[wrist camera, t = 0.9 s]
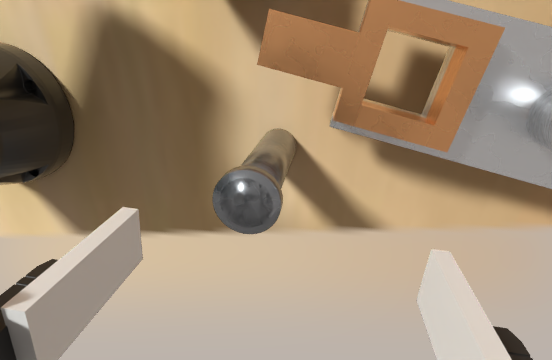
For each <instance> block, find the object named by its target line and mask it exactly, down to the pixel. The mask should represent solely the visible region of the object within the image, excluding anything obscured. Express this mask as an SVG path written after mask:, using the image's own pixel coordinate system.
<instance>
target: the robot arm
mask: <svg viewBox="0 0 552 360" xmlns="http://www.w3.org/2000/svg"><path fill="white" fill-rule="evenodd" d="M73 138H74V124H73V117H72V113H71V109H70V106H69V104H68V101H67V99H66V96H65V94H64V92H63V91H62V89H61V87H60V85H59V84H58V82H57V81H56V80H55V78H54V77H53V76H52V74H51V73H50V72H49V71H48V70H47V69H46V68H45V67H44V66H43V65H42V64H41V63H40V62H39V61H38V60H36V59H35V58H34V57H33V56H31V55H30V54H28V53H26V52H25V51H23V50H21V49H19V48H17V47H14V46H12V45H9V44H5V43H0V185H3V184H16V183H25V182H30V181H34V180H36V179H39V178H41V177H43V176H46V175H48V174H50V173H52V172H54V171H55V170H57V169H58V168H59V167H60V166H61V165H62V164H63V163H64V162H65V161H66V159H67V158H68V156H69V154H70V151H71V148H72V144H73ZM142 258H143V257H142V245H141V233H140V221H139V209H135V208H127V207H122V208H121V209H120V210H118V211H117V212H116V213H115V214H114V215H112V216H111V217H110V218H109V219H108V220H106V221H105V222H104V223H103V224H102V225H100V226H99V227H98V228H97V229H95V230H94V231H93V232H92V233H91V234H89V235H88V236H87V237H86V238H85V239H83V240H82V241H81V242H80V243H78V244H77V245H76V246H75V247H74V248H72V249H71V250H70V251H69V252H68V253H67V254H65V255H64V256H63V257H61V258H60V259H59V260H55V259H52V260H49V261H47V262H45V263H43V264H41V265H39V266H37V267H36V268H35V269H33V270H32V271H31V272H29V273H28V274H27V275H26V277H23V278H22V279H21V280H19V281H18V282H17V283H16V285H13V286H12V287H10V288H9V289H8V290H7V291H5V292H4V293H3V294H1V295H0V360H58V359H59V358H60V357H61V356H62V354H63V353H64V352H65V351H66V350H67V349H68V347H69V346H70V345H71V344H72V343H73V341H74V340H75V339H76V338H77V337H78V335H79V334H80V333H81V332H82V331H83V329H84V328H85V327H86V326H87V325H88V323H89V322H90V321H91V320H92V319H93V318H94V316H95V315H96V314H97V313H98V312H99V310H100V309H101V308H102V307H103V306H104V304H105V303H106V302H107V301H108V300H109V298H110V297H111V296H112V295H113V294H114V292H115V291H116V290H117V289H118V288H119V286H120V285H121V284H122V283H123V282H124V281H125V279H126V278H127V277H128V276H129V275H130V273H131V272H132V271H133V270H134V269H135V267H136V266H137V265H138V264H139V263H140V261H141V260H142ZM417 303H418V306H419V309H420V312H421V315H422V318H423V321H424V323H425V326H426V329H427V332H428V335H429V338H430V341H431V344H432V347H433V350H434V353H435V356H436V359H437V360H533V359H532V358H530V354H529V353H528V351H527V350H526V348H525V347H524V345H523V343H522V342H521V341H520V340H519V339H518V338H517V337H516V336H515V335H514V334H513V333H512V332H511V331H509V330H508V329H507V328H500V327H494V326H492V324H491V323H490V321H489V319H488V317H487V316H486V314H485V312H484V310H483V308H482V307H481V305H480V303H479V301H478V300H477V298H476V296H475V294H474V293H473V291H472V289H471V287H470V286H469V284H468V282H467V280H466V279H465V277H464V275H463V273H462V272H461V270H460V268H459V266H458V265H457V263H456V261H455V259H454V258H453V256H452V254H451V253H450V252H449V251H442V250H435V249H431V252H430V256H429V259H428V262H427V266H426V269H425V273H424V276H423V280H422V283H421V287H420V291H419V294H418V297H417Z"/></svg>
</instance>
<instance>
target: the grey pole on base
mask: <svg viewBox="0 0 552 360" xmlns="http://www.w3.org/2000/svg"><path fill="white" fill-rule="evenodd" d="M387 30H388V31H392V32H395V33H399V34H403V35H407V36H411V37H414V38H418V39H422V40H426V41H430V42H433V43H437V44H441V45H445V46H449V49H448V51H447V54H446V56H445V59H444V61H443V63H442V66H441V68H440V71H439V73H438V75H437V78H436V80H435V83H434V85H433V88H432V90H431V92H430V95H429V97H428V100H427V102H426V104H425V107H424V109H423V112H422V114H419V113H415V112H411V111H408V110H404V109H400V108H397V107H393V106H390V105H386V104H382V103H379V102H375V101H371V100H368V99H364V96H365V93H366V90H367V88H368V85H369V82H370V79H371V76H372V73H373V70H374V67H375V64H376V61H377V58H378V55H379V52H380V50H381V47H382V44H383V41H384V38H385V35H386V32H387ZM257 65H261V66H264V67H268V68H271V69H275V70H279V71H282V72H286V73H290V74H293V75H297V76H301V77H304V78H308V79H311V80H315V81H319V82H322V83H326V84H330V85H333V86H337V87H341V88H340V92H339V95H338V98H337V101H336V104H335V108H334V111H333V114H332V117H331V120H330V127H333V128H337V129H341V130H344V131H348V132H351V133H355V134H358V135H362V136H365V137H369V138H372V139H376V140H380V141H383V142H387V143H390V144H394V145H397V146H401V147H404V148H408V149H411V150H415V151H419V152H422V153H426V154H429V155H433V156H436V157H440V158H443V159H447V160H450V161H454V162H458V163H461V164H465V165H468V166H472V167H475V168H479V169H482V170H486V171H489V172H493V173H497V174H500V175H504V176H507V177H511V178H514V179H518V180H521V181H525V182H529V183H532V184H536V185H539V186H543V187H546V188H550V189H552V27H550V26H546V25H542V24H538V23H534V22H530V21H526V20H523V19H519V18H515V17H511V16H507V15H503V14H499V13H495V12H491V11H487V10H483V9H480V8H476V7H472V6H468V5H464V4H460V3H456V2H452V1H448V0H368V2H367V5H366V8H365V11H364V15H363V18H362V21H361V24H360V27H359V31H358V32H356V31H352V30H348V29H344V28H340V27H337V26H333V25H329V24H325V23H322V22H318V21H314V20H310V19H306V18H303V17H299V16H295V15H291V14H288V13H284V12H280V11H276V10H272V9H269V12H268V16H267V21H266V26H265V30H264V35H263V40H262V44H261V49H260V54H259V58H258V63H257Z"/></svg>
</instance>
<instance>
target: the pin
mask: <svg viewBox="0 0 552 360" xmlns="http://www.w3.org/2000/svg"><path fill="white" fill-rule="evenodd" d="M295 151H296V142H295V139H294V137H293V136H292V135H291V134H290V133H289V132H288V131H286V130H283V129H273V130H271V131H269V132H267V133H266V134H265V136H264V137H263V138H262V139H261V141H260V142H259V143H258V144H257V146H256V147H255V148H254V150H253V151H252V152H251V153H250V155H249V156H248V157H247V159H246V160H245V161H244V162H243V164H242V165H241V166H239V167H235V168H233V169H231V170H230V171H228V172H227V173H226V174H225V175H224V176H223V177H222V178H221V179H220V181H219V182H218V183H217V185H216V186H215V189H214V192H213V206H214V210H215V212H216V214H217V216H218V217H219V219H220V220H221V221H222V222H223V223H224V224H225V225H226V226H227V227H229V228H230V229H232V230H234V231H237V232H239V233H243V234H257V233H261V232H263V231H265V230H267V229H269V228H270V227H271V226H272V225H273V224H274V223H275V222H276V220H277V219H278V216H279V214H280V211H281V208H282V204H283V195H282V191H281V188H282V185H283V182H284V180H285V177H286V175H287V172H288V170H289V167H290V164H291V162H292V159H293V157H294V154H295Z"/></svg>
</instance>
